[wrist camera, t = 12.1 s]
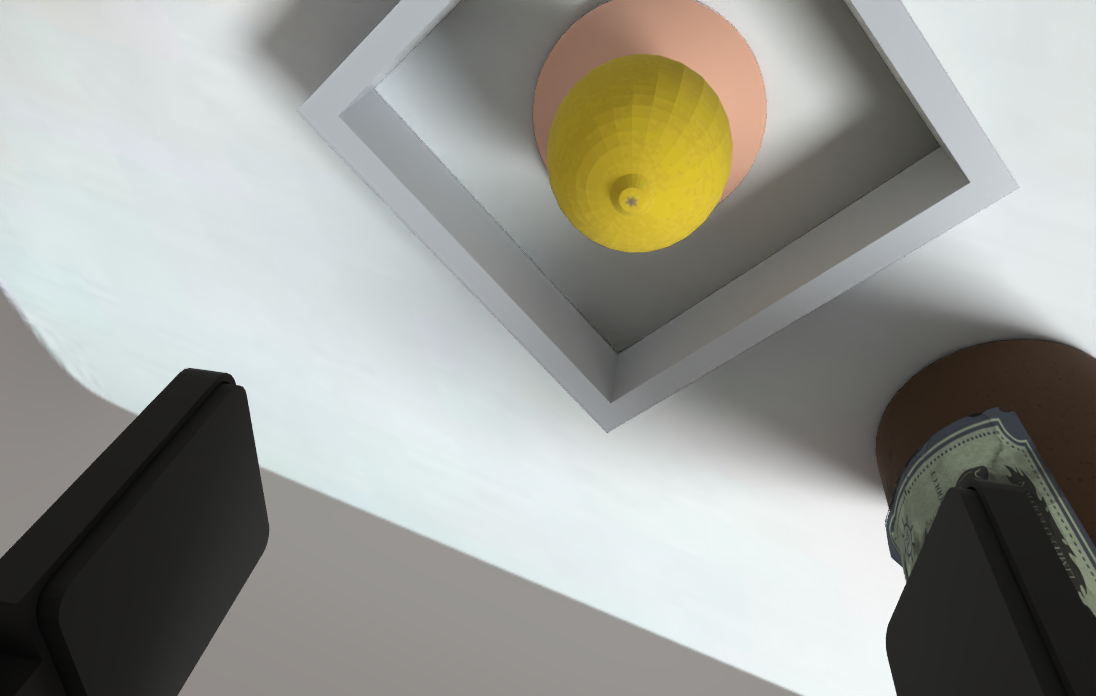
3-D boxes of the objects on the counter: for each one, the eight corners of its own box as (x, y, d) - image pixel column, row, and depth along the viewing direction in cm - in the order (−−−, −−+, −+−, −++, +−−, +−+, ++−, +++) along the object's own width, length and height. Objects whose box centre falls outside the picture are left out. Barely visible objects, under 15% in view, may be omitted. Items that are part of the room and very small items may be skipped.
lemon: (533, 132, 29) (488, 218, 22) (630, -5, 26) (611, 45, 19) (656, 222, 30) (649, 330, 23) (761, 100, 27) (787, 182, 20)
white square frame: (336, 84, 29) (296, 111, 26) (698, -294, 22) (699, -316, 19) (614, 382, 34) (606, 432, 31) (984, 150, 27) (1019, 187, 24)
